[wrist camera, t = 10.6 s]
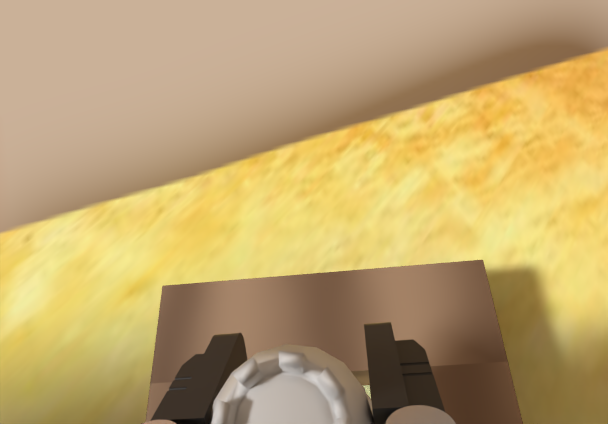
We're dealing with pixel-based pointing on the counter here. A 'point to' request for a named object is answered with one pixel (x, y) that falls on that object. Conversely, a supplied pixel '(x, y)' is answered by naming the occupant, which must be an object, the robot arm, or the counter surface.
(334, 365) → the rook chess piece
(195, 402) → the robot arm
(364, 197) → the counter surface
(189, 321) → the socket board
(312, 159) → the counter surface
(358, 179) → the counter surface
